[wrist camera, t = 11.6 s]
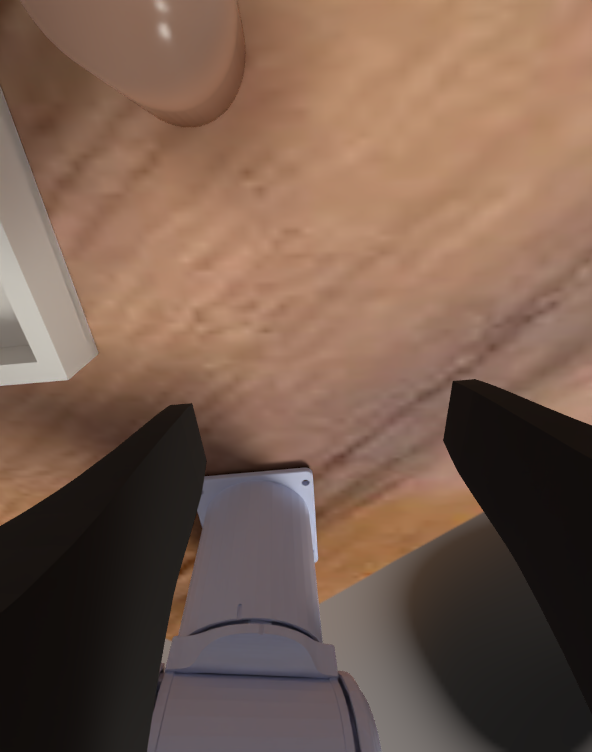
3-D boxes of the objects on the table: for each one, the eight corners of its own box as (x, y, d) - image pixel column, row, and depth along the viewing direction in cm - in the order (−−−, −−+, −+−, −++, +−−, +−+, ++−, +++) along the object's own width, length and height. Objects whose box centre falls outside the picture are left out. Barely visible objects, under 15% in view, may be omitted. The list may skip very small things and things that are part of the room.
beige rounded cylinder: (253, 122, 14) (238, 75, 9) (131, 132, 14) (42, 90, 9) (234, -56, 12) (199, -267, 6) (88, -46, 12) (-69, -250, 6)
